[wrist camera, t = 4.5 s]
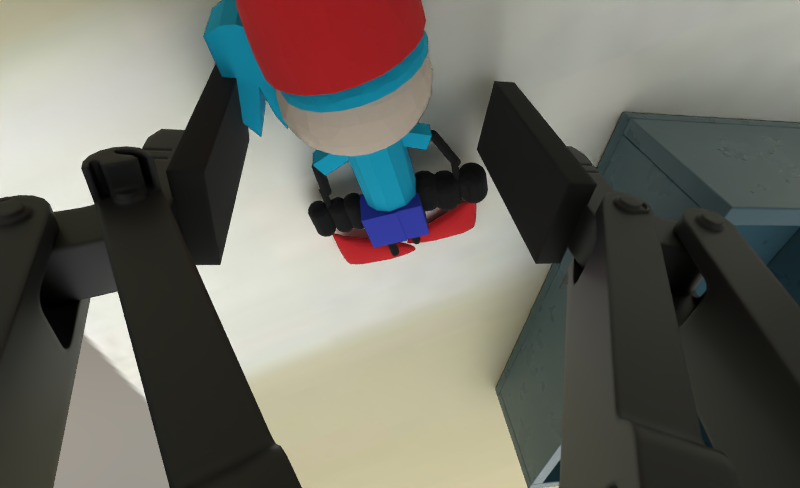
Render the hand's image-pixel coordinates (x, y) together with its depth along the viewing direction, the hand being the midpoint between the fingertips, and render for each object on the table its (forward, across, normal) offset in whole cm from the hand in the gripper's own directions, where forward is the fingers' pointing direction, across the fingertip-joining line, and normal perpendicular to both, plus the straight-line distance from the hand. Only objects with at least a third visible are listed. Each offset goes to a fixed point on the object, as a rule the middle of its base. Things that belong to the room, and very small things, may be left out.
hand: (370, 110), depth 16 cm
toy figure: (+1, 0, 0) cm, 1 cm away
